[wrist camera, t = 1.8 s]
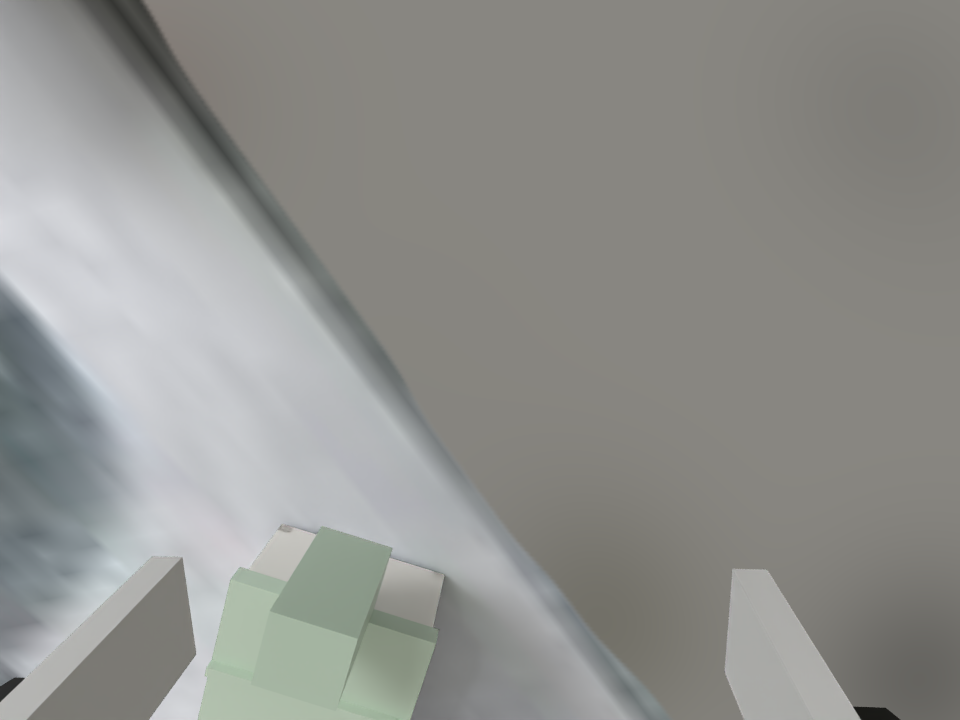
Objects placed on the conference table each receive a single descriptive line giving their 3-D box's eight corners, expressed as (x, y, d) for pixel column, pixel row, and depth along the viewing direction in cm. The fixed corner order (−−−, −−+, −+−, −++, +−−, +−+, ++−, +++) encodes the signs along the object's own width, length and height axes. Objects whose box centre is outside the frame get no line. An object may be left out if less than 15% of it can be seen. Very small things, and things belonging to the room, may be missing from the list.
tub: (233, 717, 47) (191, 791, 41) (281, 523, 43) (243, 576, 37) (381, 763, 47) (360, 844, 41) (444, 574, 43) (431, 635, 37)
